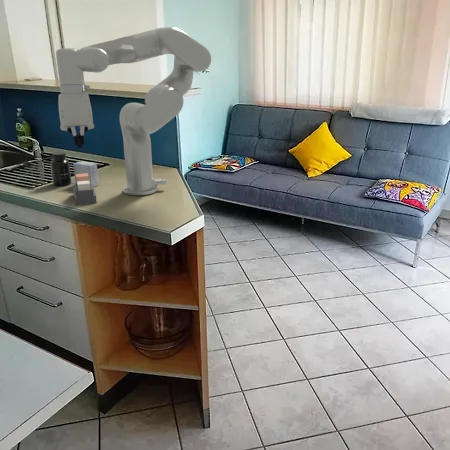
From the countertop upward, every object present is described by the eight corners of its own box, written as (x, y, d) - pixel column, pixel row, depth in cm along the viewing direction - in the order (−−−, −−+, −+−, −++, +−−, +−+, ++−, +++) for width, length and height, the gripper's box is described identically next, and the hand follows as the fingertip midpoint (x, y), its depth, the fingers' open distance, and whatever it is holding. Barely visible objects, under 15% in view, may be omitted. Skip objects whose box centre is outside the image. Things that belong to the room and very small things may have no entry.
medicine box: (99, 185, 181) (97, 163, 178) (92, 188, 178) (89, 165, 175) (83, 182, 184) (80, 161, 181) (75, 185, 181) (72, 163, 178)
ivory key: (89, 188, 164) (89, 180, 163) (90, 191, 161) (89, 183, 160) (78, 189, 163) (77, 181, 162) (78, 193, 160) (77, 184, 158)
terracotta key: (88, 181, 169) (87, 173, 168) (89, 184, 165) (88, 176, 164) (76, 182, 168) (75, 174, 166) (77, 185, 164) (76, 177, 163)
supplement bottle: (66, 187, 179) (62, 155, 175) (49, 185, 180) (45, 155, 176) (75, 182, 185) (71, 151, 181) (59, 181, 186) (55, 151, 182)
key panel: (93, 192, 172) (92, 180, 170) (96, 202, 161) (95, 190, 160) (73, 194, 170) (72, 182, 168) (75, 204, 159) (73, 192, 158)
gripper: (96, 88, 155) (101, 143, 162) (48, 89, 151) (55, 146, 158) (98, 90, 149) (104, 147, 155) (48, 92, 144) (56, 151, 151)
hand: (79, 147), depth 156 cm, fingers closed
